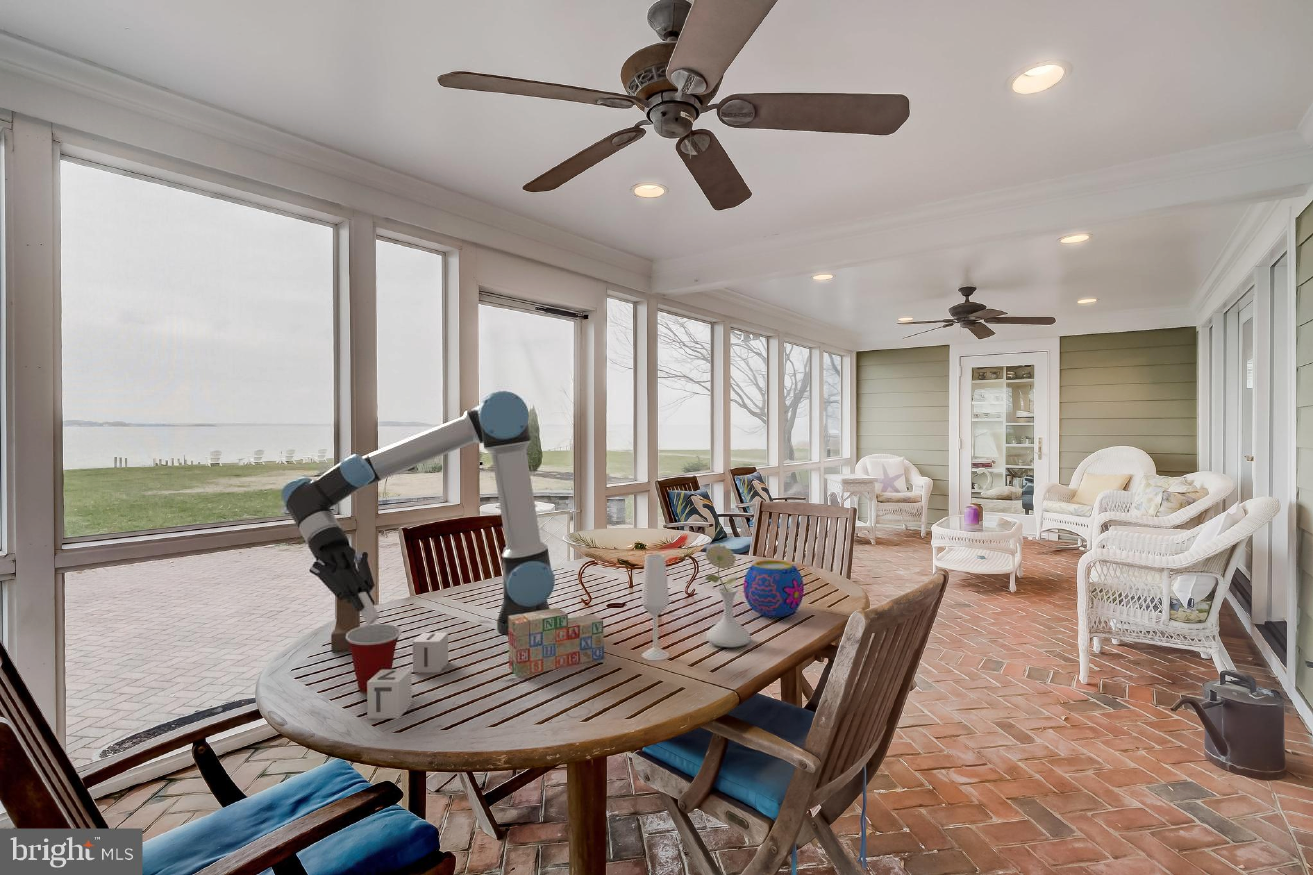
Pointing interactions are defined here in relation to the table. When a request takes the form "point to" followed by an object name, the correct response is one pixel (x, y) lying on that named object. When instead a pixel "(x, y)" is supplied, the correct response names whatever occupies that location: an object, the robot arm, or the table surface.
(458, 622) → the table surface
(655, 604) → the champagne flute
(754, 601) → the ceramic pot
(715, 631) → the flower in vase
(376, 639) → the plastic cup
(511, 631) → the stack of blocks
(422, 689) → the table surface
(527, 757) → the table surface
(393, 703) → the marked block 7
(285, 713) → the table surface
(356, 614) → the wooden block
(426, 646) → the marked block 1
